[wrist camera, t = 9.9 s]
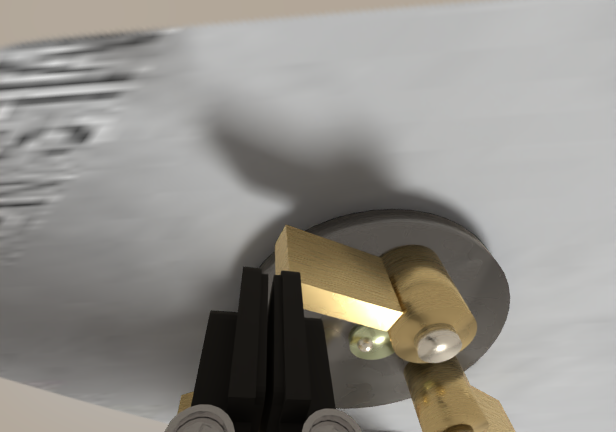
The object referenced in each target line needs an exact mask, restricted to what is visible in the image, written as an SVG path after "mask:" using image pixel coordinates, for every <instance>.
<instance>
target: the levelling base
mask: <svg viewBox="0 0 616 432" xmlns="http://www.w3.org/2000/svg"><path fill="white" fill-rule="evenodd" d="M306 232H309V233H312V234H314V235H317V236H320V237H323V238H326V239H329V240H332V241H335V242H337V243H340V244H343V245H346V246H349V247H352V248H355V249H358V250H360V251H363V252H366V253H369V254H372V255H375V256H378V257H381V256H383V255H384V254H385V253H387V252H389V251H390V250H392V249H395V248H397V247H400V246H405V245H422V246H425V247H428V248H430V249H431V250H433V251H434V252H435V253H436V254H437V256H438V257H439V259H440V261H441V262H442V264H443V266H444V267H445V269H446V271H447V272H448V274H449V276H450V277H451V279H452V281H453V283H454V284H455V286H456V288H457V289H458V291H459V293H460V294H461V296H462V298H463V300H464V301H465V303H466V305H467V306H468V308H469V310H470V311H471V313H472V315H473V316H474V318H475V320H476V322H477V332H476V335H475V337H474V338H473V340H472V341H471V343H470V344H469V345H468V346H467V347H466V348H464V349H463V350H462V351H460V352H459V353H458V354H457V355H455V356H456V357H457V359H458V361H459V363H460V365H461V367H462V369H463V371H465V370H467V369H468V368H469V367H470V366H472V365H473V364H474V363H475V362H476V361H477V360H479V359H480V358H481V357H482V356H483V355H484V354H485V353H486V352H487V350H488V349H489V348H490V347H491V345H492V344H493V343H494V342H495V340H496V339H497V337H498V335H499V334H500V332H501V330H502V328H503V326H504V324H505V321H506V319H507V315H508V311H509V304H510V293H509V285H508V282H507V279H506V277H505V274H504V272H503V271H502V269H501V267H500V266H499V264H498V263H497V261H496V260H495V259H494V258H493V256H492V255H491V254H490V252H489V251H488V250H487V249H486V247H485V246H484V245H483V244H482V243H481V242H480V241H479V239H478V238H477V237H476V236H475V235H474V234H472V233H471V232H469V231H468V230H467V229H465V228H464V227H462V226H461V225H459V224H457V223H455V222H453V221H451V220H448V219H446V218H443V217H440V216H437V215H434V214H430V213H425V212H419V211H414V210H398V209H387V210H372V211H366V212H360V213H354V214H349V215H346V216H342V217H339V218H335V219H332V220H329V221H327V222H324V223H322V224H319V225H316V226H314V227H312V228H310V229H308V230H306ZM259 268H262V274H268V304H269V299H270V293H271V287H272V282H273V276H274V275H276V273H275V252H274V253H273V254H271V255H270V256H269V257H268V258H267V259H266V260H265V261H264V263H263V264H262V265H261V266H260V267H259ZM304 317H306V318H320V319H322V321H323V325H324V332H325V339H326V345H327V352H328V359H329V366H330V373H331V379H332V386H333V393H334V400H335V407H336V408H364V407H373V406H379V405H385V404H390V403H394V402H398V401H402V400H405V399H409V398H411V395H410V392H409V389H408V386H407V383H406V380H405V377H404V374H403V372H404V368H405V366H406V365H407V364H408V363H409V361H406V360H403V359H402V358H400V357H399V356H398V355H397V354H396V353H395V352H394V349H393V347H392V344H391V341H390V337H389V334H388V331H387V332H386V331H383V330H379V329H375V328H372V327H368V326H364V325H361V324H357V323H353V322H350V321H346V320H342V319H339V318H335V317H331V316H328V315H324V314H320V313H317V312H313V311H309V310H306V309H304Z"/></svg>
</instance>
